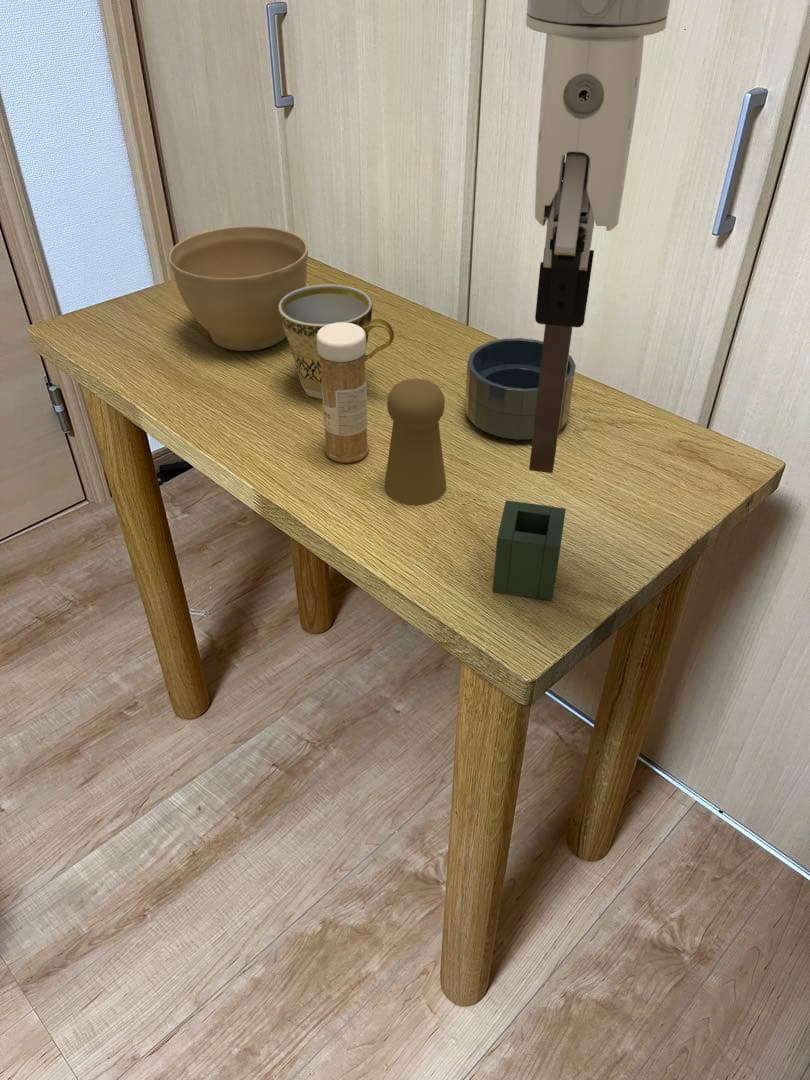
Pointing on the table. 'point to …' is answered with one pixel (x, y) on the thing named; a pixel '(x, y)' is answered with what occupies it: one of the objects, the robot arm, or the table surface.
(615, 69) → the robot arm
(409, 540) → the table surface
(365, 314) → the ceramic cup
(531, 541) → the stick holder
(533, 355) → the mixing bowl
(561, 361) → the stirring stick
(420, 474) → the brown peg doll
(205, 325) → the planter bowl
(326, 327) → the sprinkles bottle
